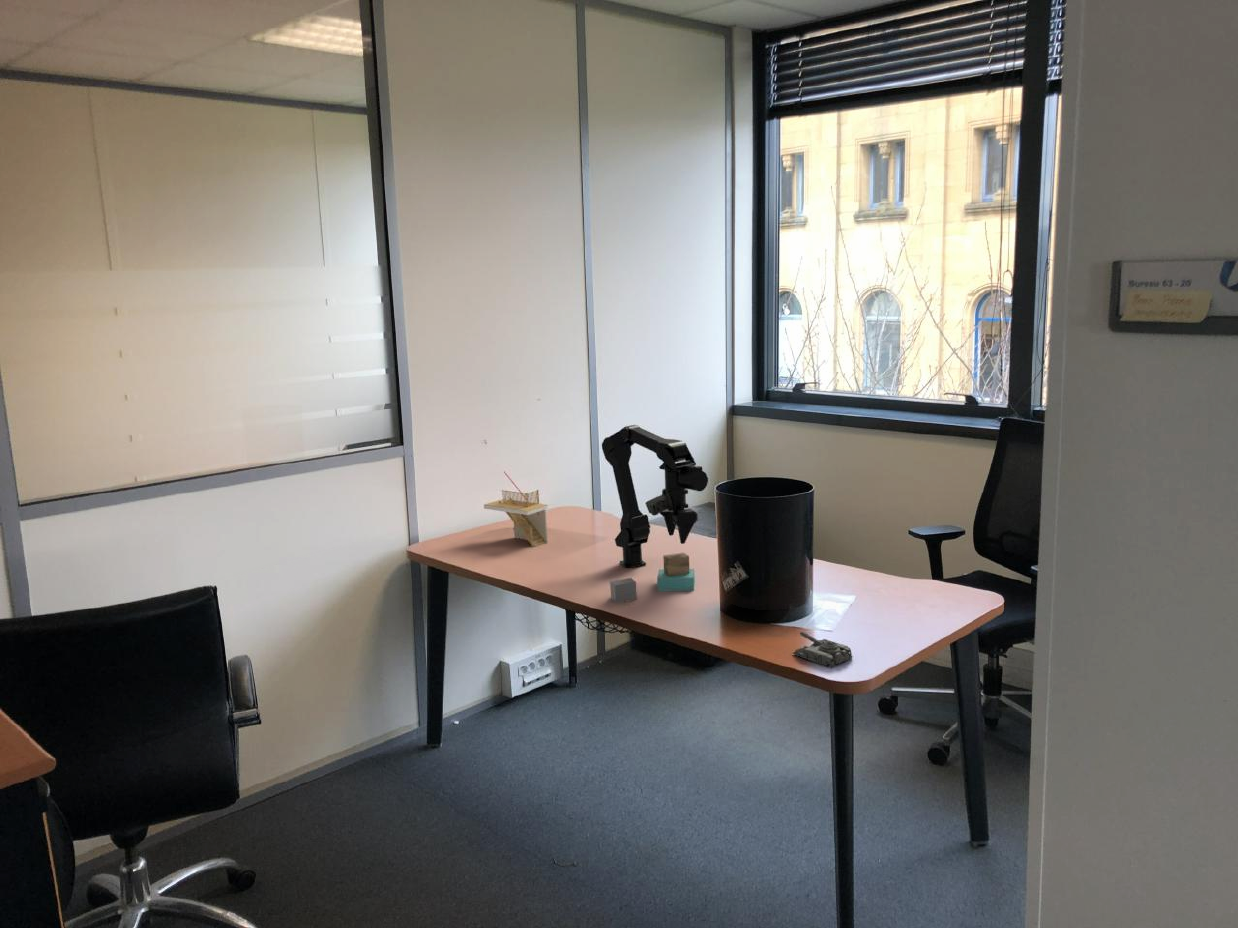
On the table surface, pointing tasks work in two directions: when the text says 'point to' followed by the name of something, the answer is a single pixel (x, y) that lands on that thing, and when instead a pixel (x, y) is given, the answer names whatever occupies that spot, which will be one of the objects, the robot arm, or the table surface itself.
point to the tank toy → (824, 651)
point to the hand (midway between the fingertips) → (676, 539)
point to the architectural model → (524, 516)
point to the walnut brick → (676, 564)
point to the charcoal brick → (623, 590)
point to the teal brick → (675, 581)
